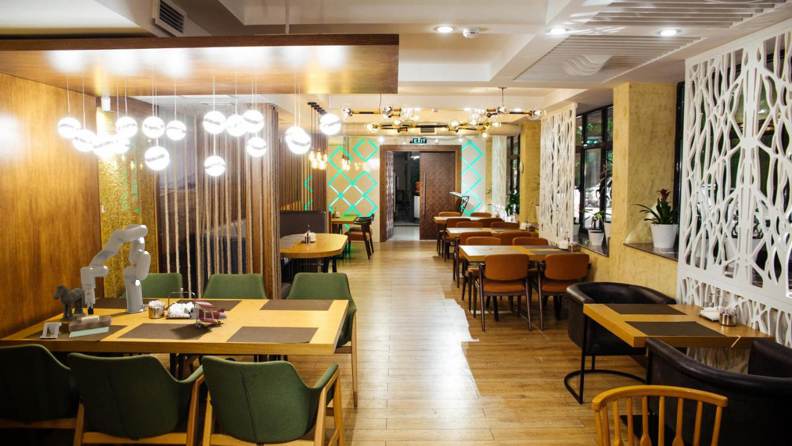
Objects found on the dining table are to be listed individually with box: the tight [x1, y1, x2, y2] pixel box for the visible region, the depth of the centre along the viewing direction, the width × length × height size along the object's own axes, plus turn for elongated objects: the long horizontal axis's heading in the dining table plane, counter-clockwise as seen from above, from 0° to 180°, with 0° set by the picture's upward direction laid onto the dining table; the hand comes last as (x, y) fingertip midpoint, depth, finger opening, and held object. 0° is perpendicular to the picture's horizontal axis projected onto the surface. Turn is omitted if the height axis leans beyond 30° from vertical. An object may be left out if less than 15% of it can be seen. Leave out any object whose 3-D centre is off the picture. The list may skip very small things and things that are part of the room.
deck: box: [68, 315, 112, 333], centre depth 326 cm, size 22×14×4 cm, turn 117°
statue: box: [52, 284, 87, 322], centre depth 343 cm, size 25×10×25 cm, turn 169°
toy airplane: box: [183, 299, 228, 329], centre depth 320 cm, size 27×23×15 cm
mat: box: [68, 327, 110, 339], centre depth 314 cm, size 20×12×1 cm, turn 117°
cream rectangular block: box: [80, 315, 100, 323], centre depth 326 cm, size 9×6×2 cm, turn 117°
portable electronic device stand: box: [39, 321, 62, 339], centre depth 307 cm, size 9×8×8 cm
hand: (90, 314), depth 335 cm, fingers closed
